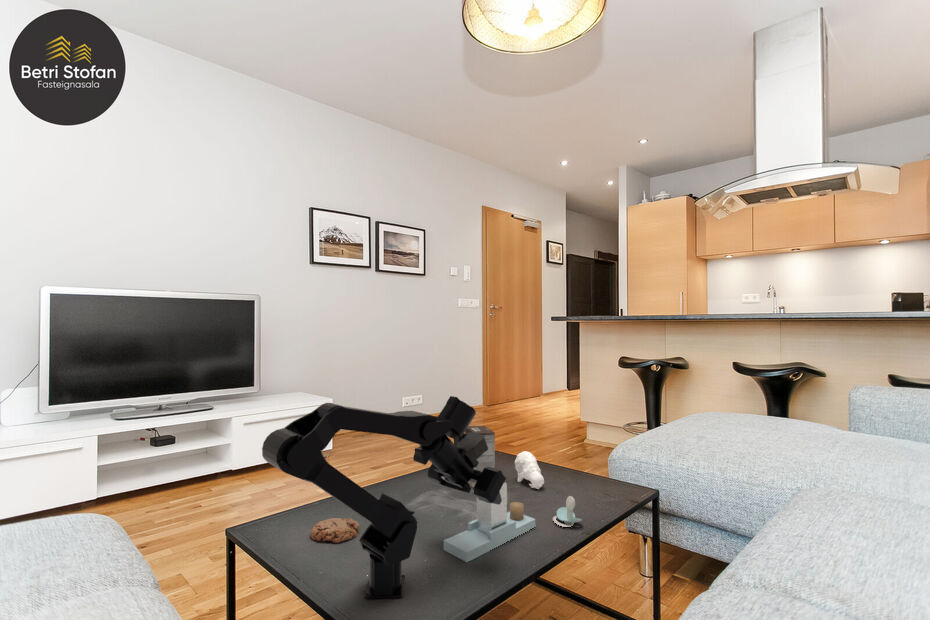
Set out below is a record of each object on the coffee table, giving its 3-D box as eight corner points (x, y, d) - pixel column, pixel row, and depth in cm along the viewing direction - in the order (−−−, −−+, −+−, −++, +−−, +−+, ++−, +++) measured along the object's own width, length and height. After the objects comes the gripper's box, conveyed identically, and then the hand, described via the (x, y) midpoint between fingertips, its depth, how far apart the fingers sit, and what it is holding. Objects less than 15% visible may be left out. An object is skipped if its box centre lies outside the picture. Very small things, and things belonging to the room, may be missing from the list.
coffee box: (464, 480, 140) (464, 426, 140) (484, 478, 141) (484, 424, 142) (474, 490, 131) (474, 433, 131) (495, 488, 133) (495, 431, 133)
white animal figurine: (532, 448, 142) (551, 463, 131) (531, 475, 143) (550, 492, 132) (513, 450, 140) (530, 465, 129) (512, 477, 141) (529, 495, 130)
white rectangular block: (491, 536, 99) (491, 488, 99) (476, 529, 102) (476, 483, 102) (509, 527, 103) (509, 482, 103) (495, 521, 106) (494, 477, 106)
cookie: (309, 530, 107) (309, 517, 107) (356, 522, 111) (356, 510, 111) (311, 550, 98) (311, 535, 98) (362, 541, 102) (362, 527, 102)
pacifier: (561, 532, 106) (585, 528, 107) (560, 504, 106) (584, 501, 107) (547, 519, 113) (570, 515, 114) (546, 493, 113) (569, 490, 114)
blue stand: (466, 562, 92) (466, 537, 92) (443, 549, 97) (443, 525, 97) (535, 527, 107) (535, 506, 107) (512, 518, 112) (512, 497, 112)
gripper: (499, 430, 91) (534, 473, 98) (437, 416, 104) (472, 455, 112) (470, 481, 85) (510, 523, 93) (409, 459, 99) (448, 497, 106)
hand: (484, 496), depth 101 cm, fingers open, 9 cm apart
